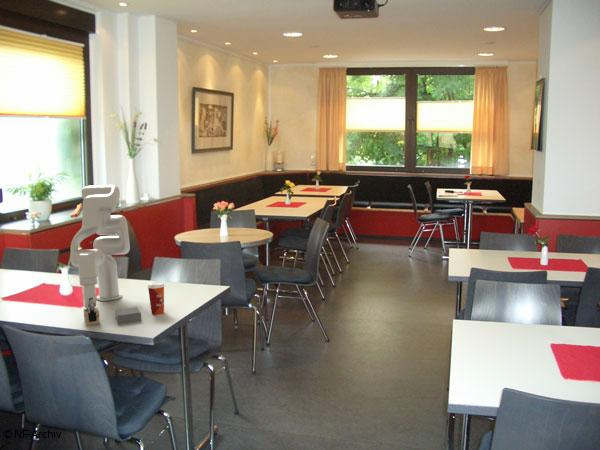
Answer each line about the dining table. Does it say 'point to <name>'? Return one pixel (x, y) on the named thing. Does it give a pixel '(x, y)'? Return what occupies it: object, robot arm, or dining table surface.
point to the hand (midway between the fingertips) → (91, 318)
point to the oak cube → (88, 317)
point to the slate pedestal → (127, 315)
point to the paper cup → (156, 297)
